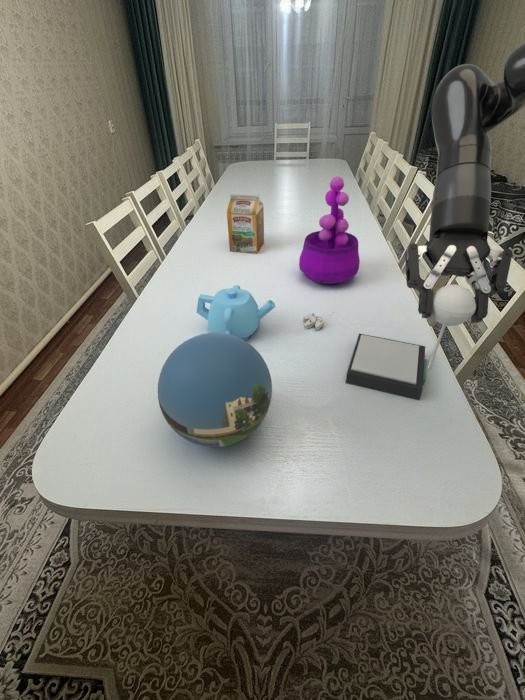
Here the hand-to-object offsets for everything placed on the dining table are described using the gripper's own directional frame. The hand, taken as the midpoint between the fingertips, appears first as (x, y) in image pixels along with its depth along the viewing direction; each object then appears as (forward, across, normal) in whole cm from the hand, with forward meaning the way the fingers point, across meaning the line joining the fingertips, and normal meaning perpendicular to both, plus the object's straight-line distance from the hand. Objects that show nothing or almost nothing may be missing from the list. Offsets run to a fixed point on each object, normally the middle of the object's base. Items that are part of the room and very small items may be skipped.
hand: (451, 319), depth 51 cm
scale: (+6, -3, +30) cm, 31 cm away
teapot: (0, -40, +37) cm, 54 cm away
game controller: (-6, -18, +43) cm, 47 cm away
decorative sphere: (+21, -35, +15) cm, 44 cm away
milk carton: (-38, -50, +76) cm, 98 cm away
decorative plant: (-24, -18, +61) cm, 68 cm away
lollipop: (+7, 0, +9) cm, 11 cm away
